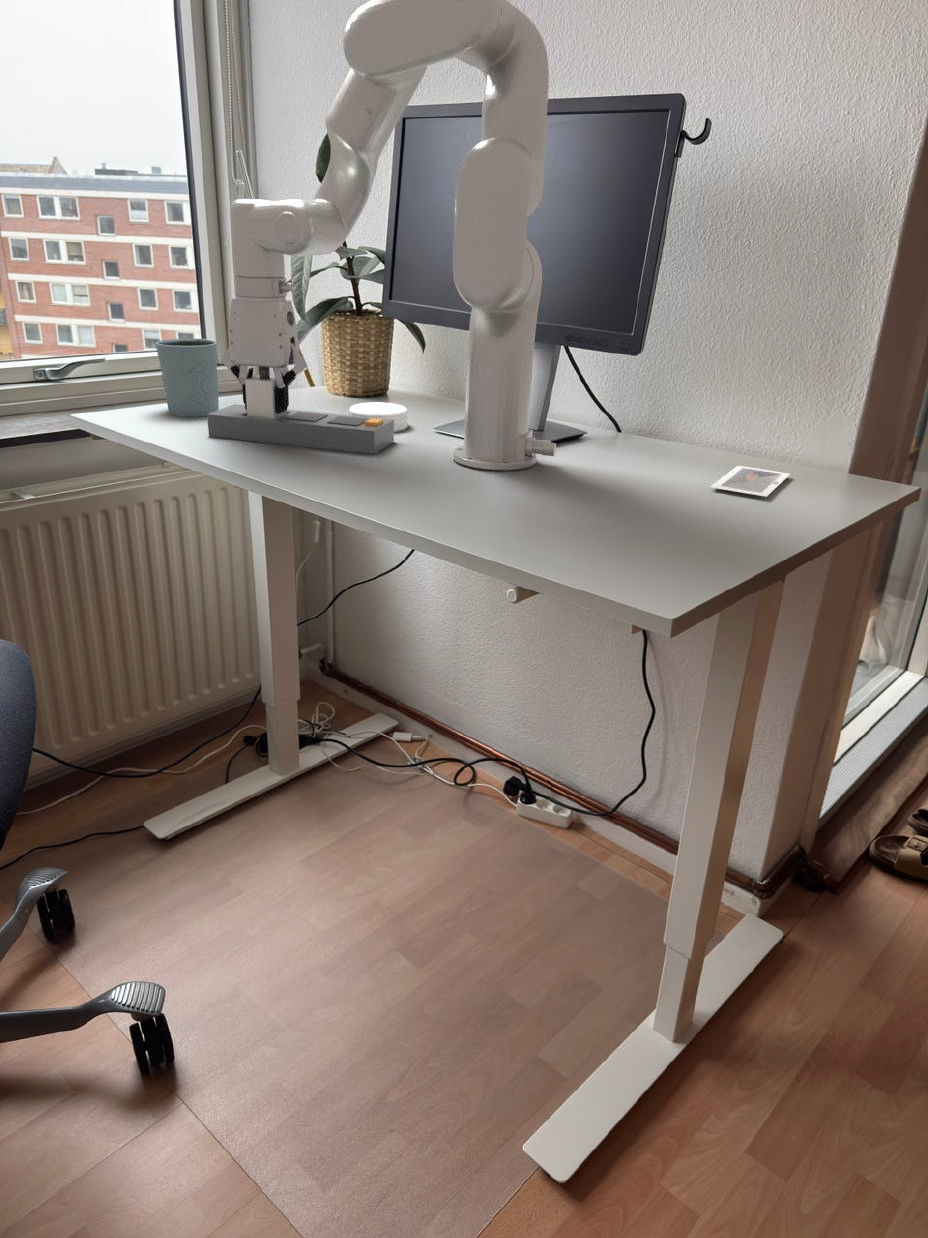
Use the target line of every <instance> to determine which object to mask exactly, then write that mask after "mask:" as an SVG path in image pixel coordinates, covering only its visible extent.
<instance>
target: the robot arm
mask: <svg viewBox="0 0 928 1238" xmlns="http://www.w3.org/2000/svg"><path fill="white" fill-rule="evenodd" d="M342 42H343V43H342V45H343V47H342V48H343V52H344V57H345V59H346V62H347V64H348V66H349V67H350V69H349V71H348V73H347V75H346V77H345V79H344V81H343V83H342V85H341V87H340V89H339V91H338V93H337V95H336V96H335V98H334V100H333V102H332V105H331V106H330V108H329V109H328V112H327V114H326V116H325V120H324V121H325V129H326V134H327V136H328V139H329V145H330V157H329V158H330V159H329V162H328V166H327V170H326V172H325V174H324V177H323V178H322V181H321V182H320V185H319V186H318V188H317V190H316V193H314V196H313V198H312V199H298V198H297V199H296V198H295V199H292V198H291V199H284V200H276V201H275V200H271V199H270V200H269V199H259V198H258V199H254V198H253V199H252V198H240V199H235V200H234V201H233V202H232V203H231V204H230V209H229V213H230V214H229V218H230V220H229V221H230V233H231V249H232V263H233V279H234V280H233V282H234V295H235V296H234V297H231V301H230V309H229V317H228V318H229V319H228V347H227V348H226V351H225V352H224V354H223V355H222V356H221V359H220V363H221V364H222V365H224V366H225V367H226V368H227V369H228V370H230V371H231V373H232V374H233V375H234V377H235V378H237V380H238V383H239V384H240V385H241V388H242V401H243V405H245V410H247V404H246V387H245V379H249V378H252V377H255V373H256V372H255V371H256V367H258V368H259V367H269V369H271V368H272V371H273V374H274V376H273V377H275V379H276V383H277V387H276V388H275V389H274V397H275V412H276V413H278V414H280V413H282V412H285V411H287V409H288V407H289V406H290V400H289V399H290V396H289V386H290V385H291V384H292V382H293V381H294V380H295V379H296V378H297V377H298V376H300V375H301V374H302V373H304V372H305V371H306V370H307V369H308V367H309V366H308V363H307V362H306V360H305V359H304V358H303V356H302V355H301V353H300V346H299V344H300V343H299V335H298V328H297V320H296V316H295V310H294V306H293V302H292V300H291V299H287V294H288V293H293V291H294V285H293V284H294V283H291V282H288V281H287V278H286V276H285V275H286V271H285V270H286V269H285V255H286V256H290V257H311V256H323V255H330V254H331V253H333V252H335V251H336V250H338V249H339V248H340V247H341V246H342V245H343V244H344V242H346V240H347V238H348V237H349V235H350V233H351V232H352V230H353V229H354V227H355V226H356V223H357V221H358V220H359V219H360V216H361V214H362V213H363V211H364V209H365V207H366V205H367V203H368V200H369V196H370V194H371V192H372V188H373V184H374V181H375V177H376V173H377V169H378V163H379V158H380V156H381V155H382V152H383V150H384V148H385V146H386V145H387V143H388V141H389V139H390V137H391V135H392V133H393V131H394V129H395V127H396V126H397V124H398V122H399V120H400V119H401V117H402V115H403V113H404V112H405V110H406V108H407V107H408V104H409V103H410V102H411V99H412V98H413V96H414V94H415V92H416V91H417V89H418V87H419V85H420V83H421V81H422V80H423V78H424V76H425V74H426V71H427V69H428V66H430V65H435V64H437V63H440V62H443V61H447V60H451V59H454V58H456V59H458V61H461V62H463V63H465V64H467V65H469V66H471V67H474V68H476V69H478V70H480V71H481V72H482V74H483V75H484V79H485V88H484V94H483V100H482V109H481V110H482V111H481V133H480V134H481V135H480V142H478V143H477V144H475V145H474V146H473V147H472V148H470V149H469V150H468V152H467V153H466V155H465V156H464V158H463V159H462V161H461V164H460V166H459V170H458V173H457V177H456V182H455V190H454V191H455V193H454V212H453V213H454V217H453V220H454V221H453V245H452V246H453V247H452V274H453V281H454V285H455V288H456V290H457V292H458V294H459V296H460V297H461V299H462V300H463V302H465V303H466V304H467V305H469V306H470V307H471V312H470V319H469V327H468V328H469V329H468V338H467V339H468V343H467V360H466V379H465V380H466V381H465V382H466V384H465V385H466V386H465V387H466V388H465V404H464V405H465V409H464V435H463V445H460V446H458V447H456V448H455V449H454V450H453V452H452V458H453V460H454V461H455V462H456V463H457V464H460V465H463V466H466V467H469V468H474V469H480V470H488V471H490V470H491V471H516V470H523V469H528V468H530V467H532V466H534V465H535V464H536V463H537V455H542V456H546V457H548V456H549V457H555V455H556V449H557V443H556V442H555V443H554V442H551V440H546V439H536V437H533V429H529V420H530V408H531V407H530V406H531V393H532V377H533V367H534V366H533V365H534V356H535V355H534V354H535V343H536V342H535V341H536V331H537V320H538V314H539V307H540V299H541V293H542V286H543V266H542V261H541V259H540V256H539V253H538V251H537V250H536V248H535V246H534V245H533V244H532V243H531V242H530V241H529V240H528V239H527V230H528V229H527V228H528V217H529V216H531V215H532V214H533V212H535V210H536V209H537V207H538V206H539V204H540V202H541V199H542V197H543V192H544V186H545V185H544V183H545V182H544V181H545V178H544V177H545V175H544V174H545V156H546V155H545V154H546V144H547V143H546V141H547V130H548V129H547V123H548V122H547V120H548V119H547V118H548V104H549V103H548V102H549V87H550V85H549V83H550V66H549V59H548V58H549V57H548V53H547V48H546V45H545V42H544V39H543V37H542V34H541V33H540V31H539V29H538V28H537V26H536V25H535V24H534V22H533V21H532V20H531V19H530V18H529V17H528V16H527V15H526V14H525V13H524V12H522V11H521V10H520V9H519V8H518V7H516V6H514V4H513V3H511V2H510V1H508V0H370V1H368V2H366V3H364V4H363V5H362V6H360V7H358V8H357V9H356V10H355V12H353V13H352V15H351V17H349V20H348V21H347V23H346V25H345V29H344V32H343V39H342ZM288 366H293V367H292V368H291V369H290V370H289V368H288Z"/></svg>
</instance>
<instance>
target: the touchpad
mask: <svg viewBox="0 0 928 1238" xmlns="http://www.w3.org/2000/svg"><path fill="white" fill-rule="evenodd" d="M790 475H791V473H789V472H788V473H787V472H781V471H776V470H768V469H762V468H757V467H756V468H755V467H749V466H743V465H736V467H734V468H732V469H731V470H730V471H728V472H727V473H726V474H725V475H724V476H722V477H721V478H720V479H718V480H717V481H715V482H714V483H712V484H711V485H710V486H709V488H712V489H713V488H714V489H717V490H718V489H719V490H723V491H724V490H725V491H730V492H735V493H736V492H737V493H741V494H748V495H755V496H760V497H764V498H765V497H766V498H767V497H769V496H770V494H771V493H772V492H773V491H775V489H776V488H778V487H779V486H780V485H781V484H783V482H784V481H785V480H786V479H787V478H788V477H789V476H790Z"/></svg>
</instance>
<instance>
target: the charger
mask: <svg viewBox="0 0 928 1238" xmlns="http://www.w3.org/2000/svg"><path fill="white" fill-rule="evenodd" d="M270 369H271V368H269V367H258V373H259V374H258V375H256V376H255V375H254V377H252V378H249V379H245V387H246V404H247V416H253V417H262V418H272V419H276V418H279V417H281V416H283V415H286V411H285V412H282V413H280V414H278V413H276V412H275V397H274V389H275V388H276V387H277V383H276V379H275V376H270V375H271V371H270Z"/></svg>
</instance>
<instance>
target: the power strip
mask: <svg viewBox="0 0 928 1238" xmlns="http://www.w3.org/2000/svg"><path fill="white" fill-rule="evenodd" d="M206 418H207V429H208V437H213V438H222V439H223V438H224V439H232V440H240V441H241V440H242V441H248V442H249V441H250V442H259V443H260V442H261V443H267V444H280V445H287V446H296V447H304V448H305V447H306V448H307V447H308V448H316V449H324V450H334V451H343V452H354V453H362V454H370V455H371V454H372V455H373V454H374V455H375V454H377V453H378V452H380V451H382V450H383V449H384V448H386V447H388V446H389V445H390V444H392V443H394V441H395V439H394V438H395V436H394V435H395V434H394V433H395V432H394V420H391V419H381V418H371V417H361V416H351V415H349V414H339V413H329V412H321V411H320V412H318V411H308V410H296V409H289V408H287V411H286V415H283V416H281V417H279V418H276V419H272V418H262V417H253V416H247V410H245V404H236V403H234V404H231V405H229V406H225V407H223V408H221V409H220V408H219V410H217V411H215V412H212V413H209V414H207V417H206Z"/></svg>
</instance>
